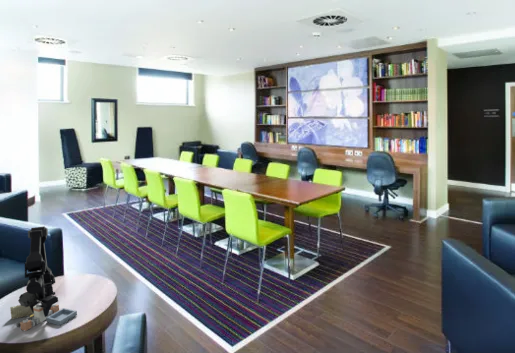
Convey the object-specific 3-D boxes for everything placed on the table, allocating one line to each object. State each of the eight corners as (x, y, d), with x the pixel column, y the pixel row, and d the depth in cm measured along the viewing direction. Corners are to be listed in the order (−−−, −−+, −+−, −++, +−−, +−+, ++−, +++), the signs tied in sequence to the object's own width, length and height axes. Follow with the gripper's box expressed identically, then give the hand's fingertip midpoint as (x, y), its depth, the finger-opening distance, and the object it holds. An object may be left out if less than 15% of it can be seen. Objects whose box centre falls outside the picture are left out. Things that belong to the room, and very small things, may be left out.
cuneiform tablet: (39, 315, 180) (10, 322, 174) (40, 313, 183) (11, 319, 178) (38, 301, 180) (9, 307, 174) (39, 299, 184) (10, 304, 178)
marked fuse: (34, 321, 174) (32, 305, 173) (41, 317, 177) (39, 302, 176) (40, 322, 173) (38, 307, 171) (47, 318, 176) (45, 303, 175)
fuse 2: (49, 313, 181) (48, 305, 180) (54, 310, 184) (54, 302, 183) (54, 314, 180) (53, 306, 179) (59, 311, 183) (58, 303, 182)
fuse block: (16, 326, 169) (16, 321, 169) (47, 309, 184) (46, 305, 184) (27, 329, 167) (27, 324, 167) (57, 312, 182) (57, 307, 181)
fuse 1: (21, 329, 167) (20, 321, 166) (27, 326, 170) (26, 318, 169) (25, 330, 166) (24, 322, 165) (31, 327, 169) (30, 319, 168)
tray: (46, 322, 173) (46, 317, 173) (63, 312, 182) (63, 307, 182) (60, 325, 170) (60, 321, 170) (77, 315, 179) (76, 310, 179)
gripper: (6, 289, 168) (10, 320, 170) (35, 295, 161) (39, 327, 164) (28, 279, 178) (32, 308, 181) (57, 284, 172) (60, 315, 174)
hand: (40, 315), depth 175 cm, fingers open, 7 cm apart
